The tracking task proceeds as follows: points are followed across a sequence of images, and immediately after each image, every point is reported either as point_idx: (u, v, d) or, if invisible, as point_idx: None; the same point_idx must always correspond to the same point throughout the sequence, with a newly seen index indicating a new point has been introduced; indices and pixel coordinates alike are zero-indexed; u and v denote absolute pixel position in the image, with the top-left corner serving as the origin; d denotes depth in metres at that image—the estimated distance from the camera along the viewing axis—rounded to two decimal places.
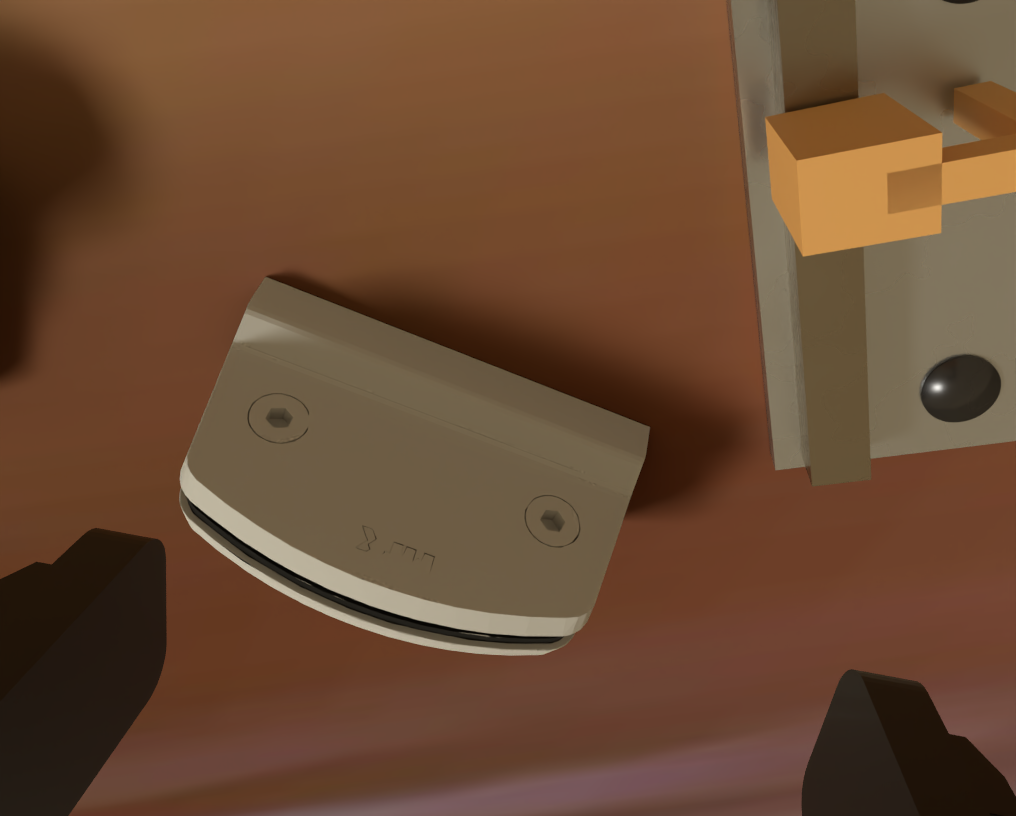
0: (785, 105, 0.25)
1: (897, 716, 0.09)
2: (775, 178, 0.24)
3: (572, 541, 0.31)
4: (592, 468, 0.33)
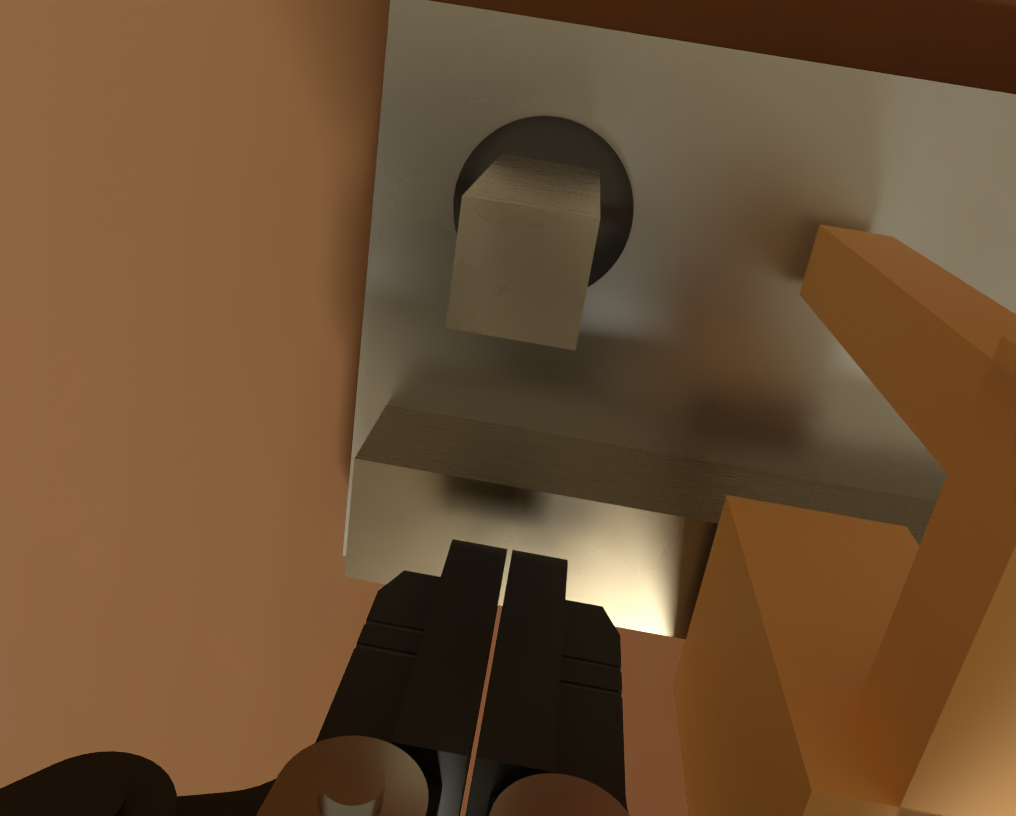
0: (652, 631, 0.13)
1: (525, 582, 0.10)
2: None
3: None
4: None
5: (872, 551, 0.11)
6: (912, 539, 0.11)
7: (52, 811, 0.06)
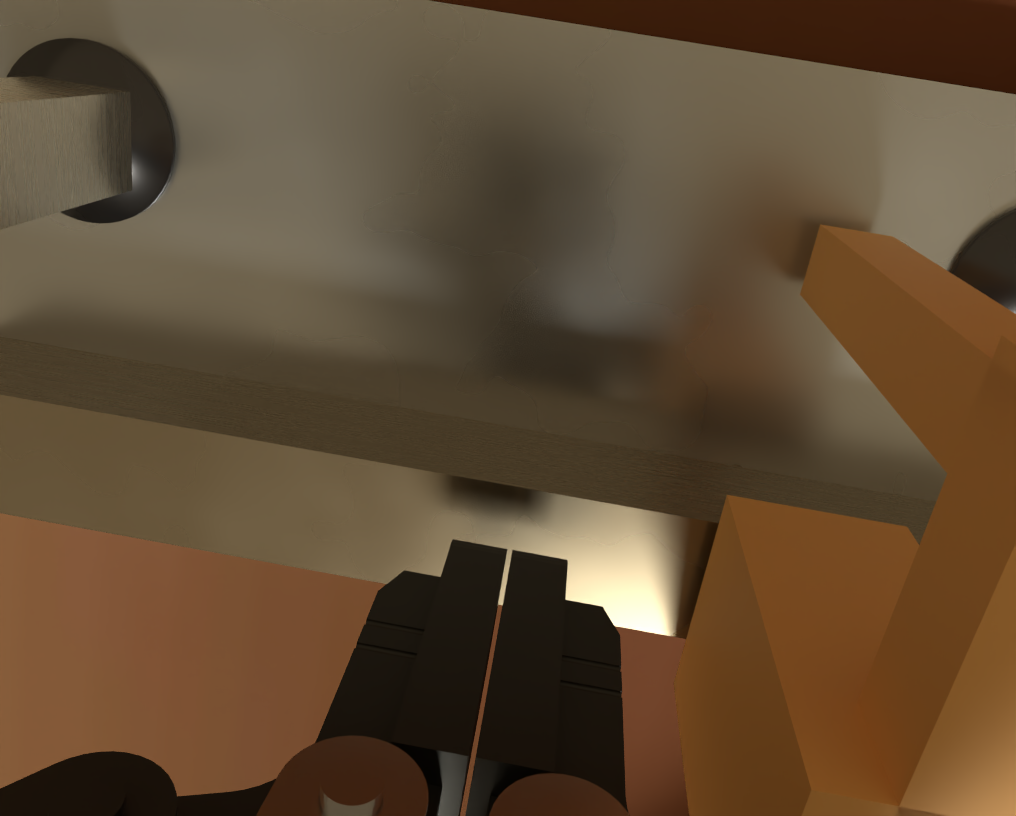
0: (205, 548, 0.13)
1: (525, 581, 0.10)
2: None
3: None
4: None
5: (872, 551, 0.11)
6: (912, 539, 0.11)
7: (52, 811, 0.06)
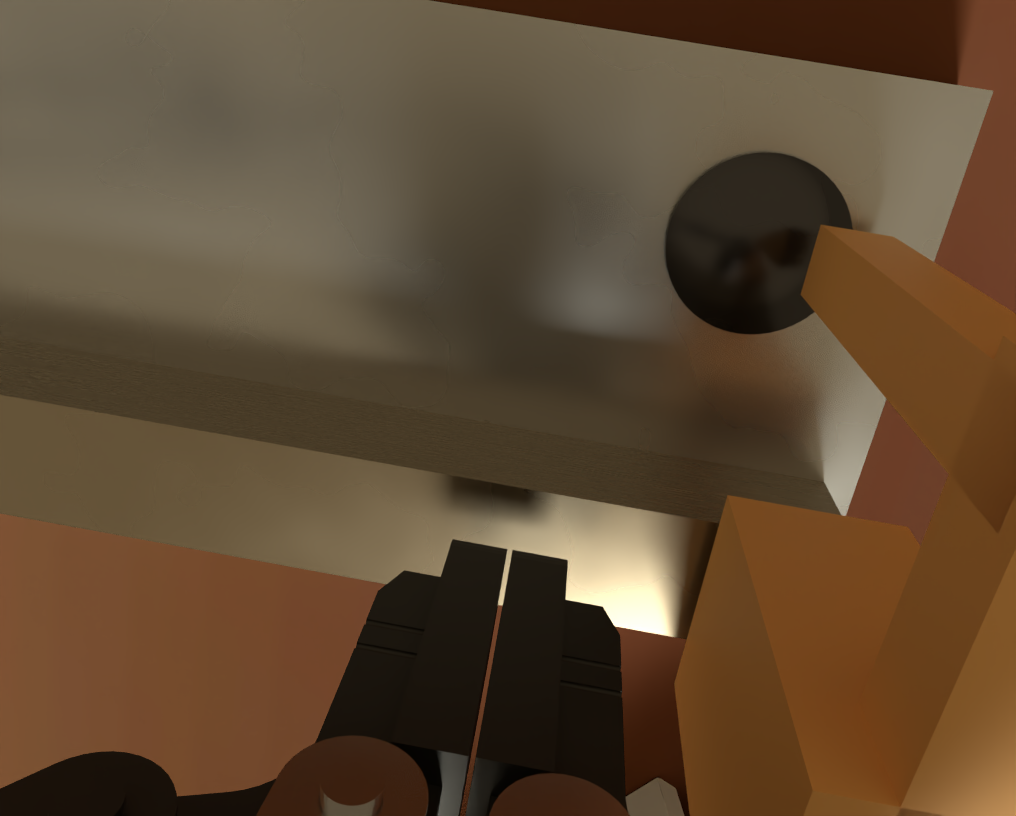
0: None
1: (525, 582, 0.10)
2: None
3: None
4: None
5: (873, 551, 0.11)
6: (913, 539, 0.11)
7: (52, 811, 0.06)
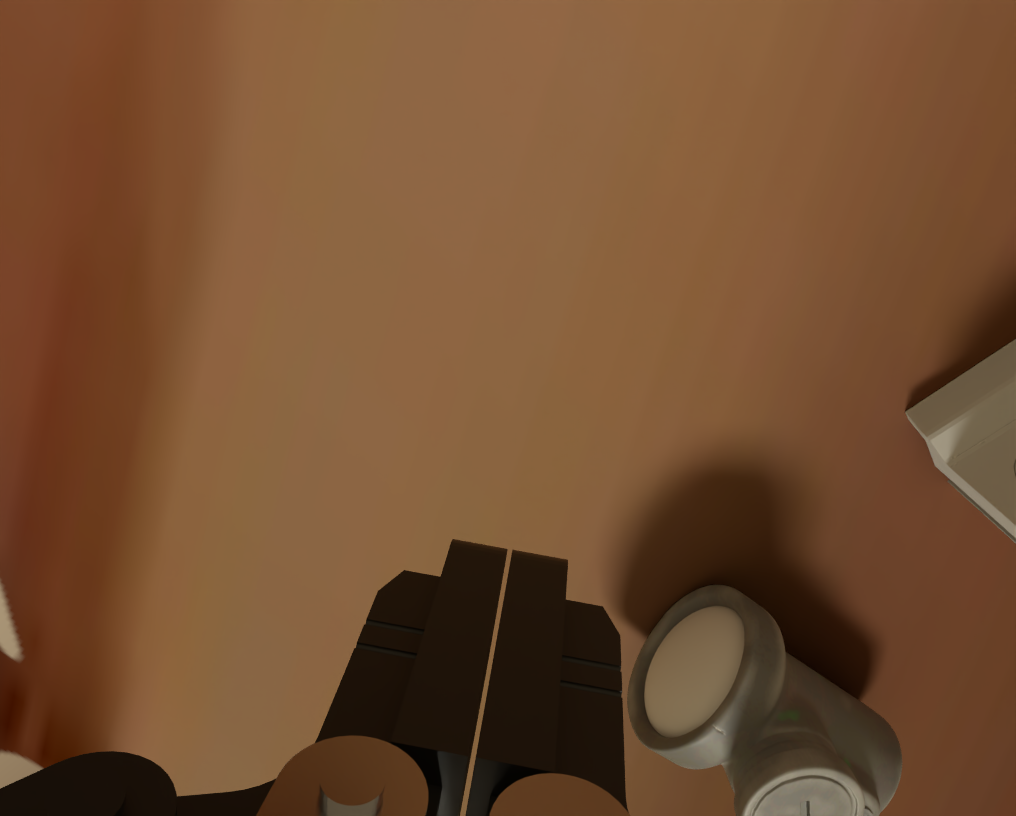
0: None
1: (525, 582, 0.10)
2: None
3: None
4: None
5: None
6: None
7: (52, 811, 0.06)
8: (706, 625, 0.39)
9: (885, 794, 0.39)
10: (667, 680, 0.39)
